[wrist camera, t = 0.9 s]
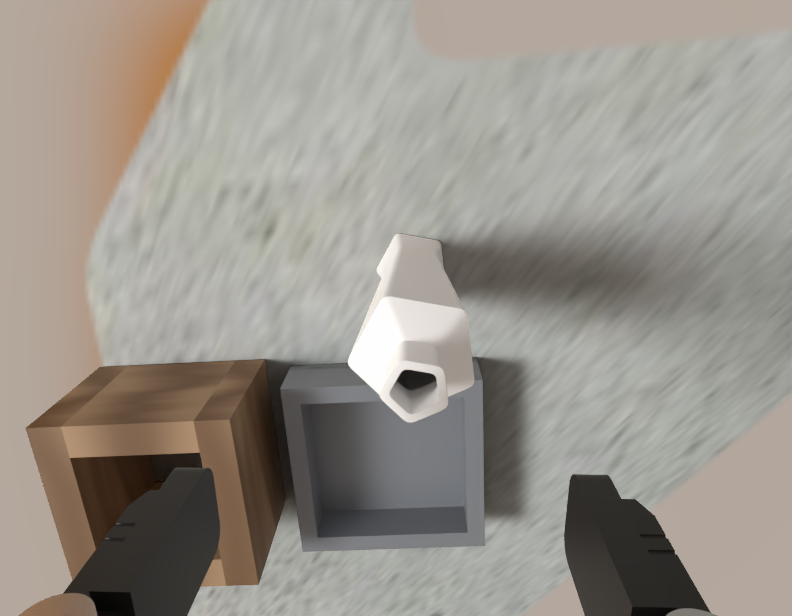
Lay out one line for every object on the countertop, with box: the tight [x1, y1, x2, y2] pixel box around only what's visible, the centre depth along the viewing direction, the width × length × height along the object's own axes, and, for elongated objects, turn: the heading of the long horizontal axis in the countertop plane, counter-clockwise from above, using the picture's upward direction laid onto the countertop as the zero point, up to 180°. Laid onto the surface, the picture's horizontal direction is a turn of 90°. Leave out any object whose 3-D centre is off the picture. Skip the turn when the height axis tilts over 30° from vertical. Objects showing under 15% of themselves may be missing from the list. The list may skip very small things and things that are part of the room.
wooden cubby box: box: [26, 359, 285, 586], centre depth 32 cm, size 10×10×7 cm
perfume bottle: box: [348, 234, 474, 423], centre depth 25 cm, size 5×4×15 cm
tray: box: [280, 357, 485, 552], centre depth 34 cm, size 11×11×3 cm
